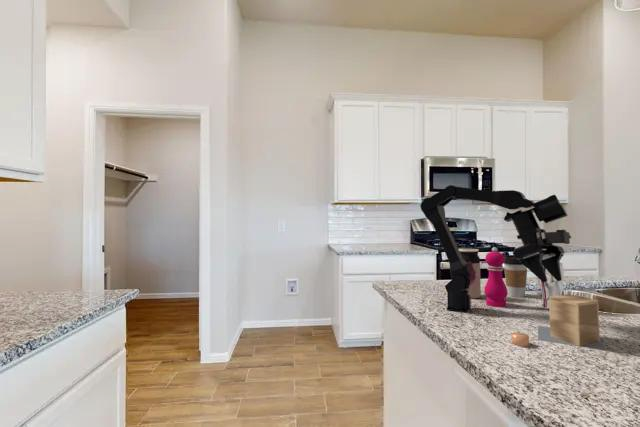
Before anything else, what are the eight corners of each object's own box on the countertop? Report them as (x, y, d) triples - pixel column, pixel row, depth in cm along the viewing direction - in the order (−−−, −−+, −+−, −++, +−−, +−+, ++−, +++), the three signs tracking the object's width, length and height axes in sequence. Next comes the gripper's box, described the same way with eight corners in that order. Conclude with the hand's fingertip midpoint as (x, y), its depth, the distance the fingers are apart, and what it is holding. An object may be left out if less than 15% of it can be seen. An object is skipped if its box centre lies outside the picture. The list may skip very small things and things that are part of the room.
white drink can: (569, 311, 107) (567, 264, 107) (544, 310, 108) (543, 264, 108) (558, 305, 114) (557, 261, 114) (535, 304, 115) (534, 261, 115)
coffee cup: (525, 293, 131) (524, 255, 132) (531, 298, 123) (530, 257, 124) (501, 292, 134) (500, 254, 134) (506, 297, 126) (505, 257, 126)
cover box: (550, 336, 85) (549, 296, 85) (569, 332, 88) (568, 294, 88) (578, 346, 79) (577, 303, 79) (599, 341, 81) (598, 300, 81)
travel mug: (474, 293, 133) (473, 248, 133) (484, 298, 125) (483, 250, 125) (454, 294, 133) (453, 248, 133) (463, 299, 125) (462, 250, 125)
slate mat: (537, 341, 83) (537, 339, 83) (538, 327, 93) (538, 325, 93) (606, 352, 76) (606, 350, 76) (598, 335, 86) (598, 334, 86)
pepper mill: (480, 302, 120) (479, 246, 120) (499, 301, 121) (498, 245, 121) (492, 307, 113) (490, 248, 113) (512, 306, 113) (511, 247, 113)
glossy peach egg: (511, 346, 80) (510, 336, 80) (512, 341, 83) (512, 331, 83) (528, 349, 78) (528, 338, 78) (529, 344, 81) (529, 334, 81)
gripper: (541, 215, 88) (570, 272, 81) (570, 220, 98) (597, 272, 92) (502, 231, 96) (525, 285, 90) (532, 235, 106) (555, 283, 100)
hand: (552, 281), depth 93 cm, fingers open, 9 cm apart
